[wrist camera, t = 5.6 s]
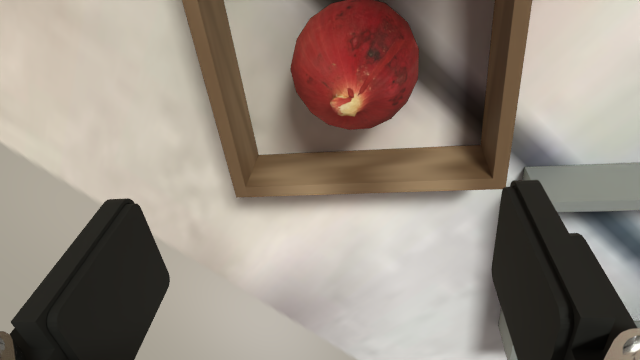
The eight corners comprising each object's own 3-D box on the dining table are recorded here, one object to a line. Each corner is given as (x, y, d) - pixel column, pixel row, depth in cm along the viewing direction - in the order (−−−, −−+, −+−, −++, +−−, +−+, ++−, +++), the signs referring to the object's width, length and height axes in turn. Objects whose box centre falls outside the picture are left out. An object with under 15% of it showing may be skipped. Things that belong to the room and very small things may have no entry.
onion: (347, -45, 22) (335, -5, 15) (437, 29, 23) (460, 94, 17) (283, 50, 25) (249, 117, 18) (366, 110, 26) (362, 191, 20)
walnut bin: (527, -156, 19) (554, -160, 16) (491, 154, 27) (505, 188, 24) (184, -108, 21) (153, -103, 18) (250, 164, 29) (236, 197, 26)
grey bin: (810, 156, 25) (866, 193, 22) (710, 328, 33) (741, 371, 30) (524, 167, 27) (541, 202, 24) (498, 325, 36) (508, 365, 33)
